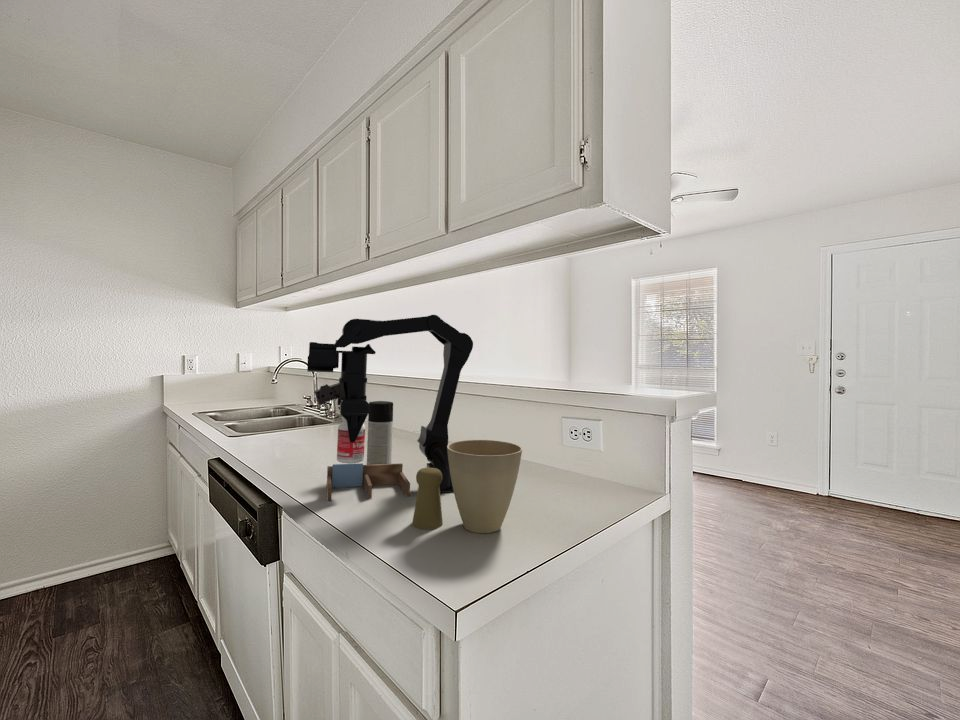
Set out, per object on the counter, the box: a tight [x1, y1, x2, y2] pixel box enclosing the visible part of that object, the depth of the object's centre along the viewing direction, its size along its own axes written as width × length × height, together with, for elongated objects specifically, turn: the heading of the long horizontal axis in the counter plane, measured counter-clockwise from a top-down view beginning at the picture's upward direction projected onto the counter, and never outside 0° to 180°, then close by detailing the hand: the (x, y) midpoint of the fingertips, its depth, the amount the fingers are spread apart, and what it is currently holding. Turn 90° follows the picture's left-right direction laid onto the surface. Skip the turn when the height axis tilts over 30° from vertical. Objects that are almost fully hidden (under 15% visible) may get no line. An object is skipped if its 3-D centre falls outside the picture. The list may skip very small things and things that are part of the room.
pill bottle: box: [336, 416, 366, 464], centre depth 108 cm, size 6×6×11 cm
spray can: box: [366, 400, 394, 465], centre depth 126 cm, size 7×7×20 cm
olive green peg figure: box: [411, 467, 443, 530], centre depth 92 cm, size 6×6×11 cm
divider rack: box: [326, 462, 411, 502], centre depth 111 cm, size 18×12×6 cm, turn 109°
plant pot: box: [447, 439, 523, 534], centre depth 91 cm, size 15×15×16 cm
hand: (351, 439), depth 108 cm, fingers closed on pill bottle, 6 cm apart
